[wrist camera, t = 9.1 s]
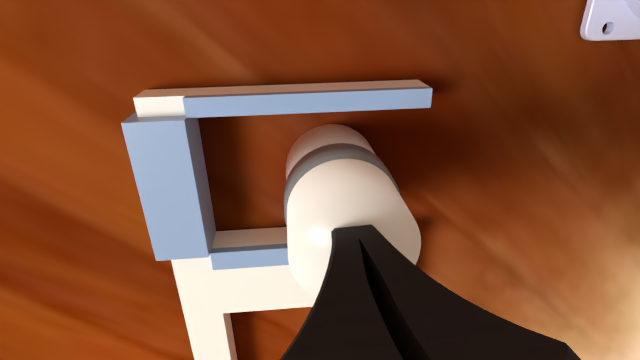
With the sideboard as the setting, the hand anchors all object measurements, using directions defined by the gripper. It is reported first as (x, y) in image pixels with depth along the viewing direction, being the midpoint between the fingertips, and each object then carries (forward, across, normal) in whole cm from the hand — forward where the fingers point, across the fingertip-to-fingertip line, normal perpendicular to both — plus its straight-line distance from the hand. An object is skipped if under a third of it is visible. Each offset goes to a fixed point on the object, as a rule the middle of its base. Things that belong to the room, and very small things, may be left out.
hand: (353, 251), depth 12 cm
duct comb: (+7, +2, +5) cm, 9 cm away
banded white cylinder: (+7, 0, 0) cm, 7 cm away
